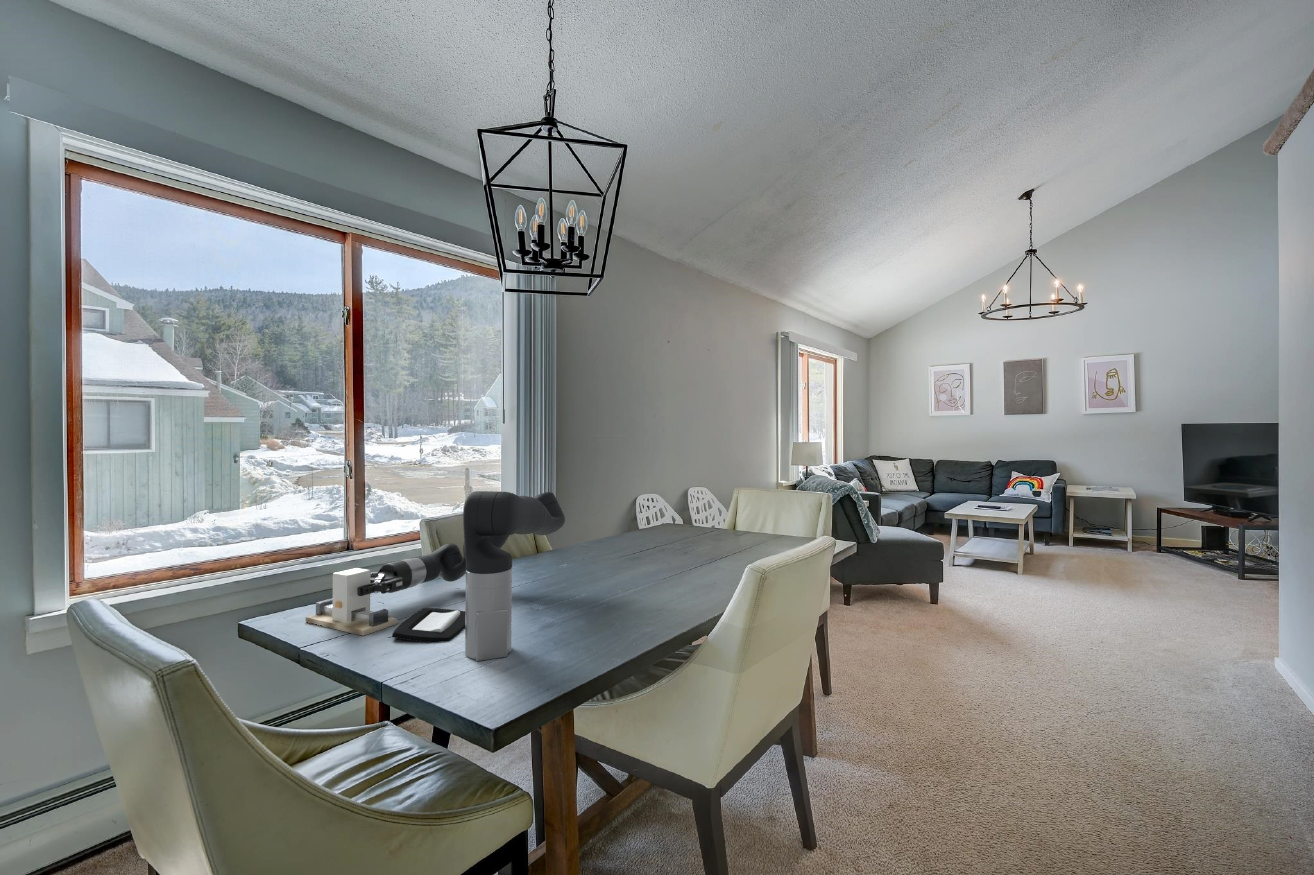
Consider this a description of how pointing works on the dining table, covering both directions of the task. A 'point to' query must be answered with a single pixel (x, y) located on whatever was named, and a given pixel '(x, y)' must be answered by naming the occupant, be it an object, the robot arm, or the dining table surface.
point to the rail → (355, 613)
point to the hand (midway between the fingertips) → (345, 589)
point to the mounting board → (348, 624)
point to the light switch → (431, 625)
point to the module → (349, 593)
